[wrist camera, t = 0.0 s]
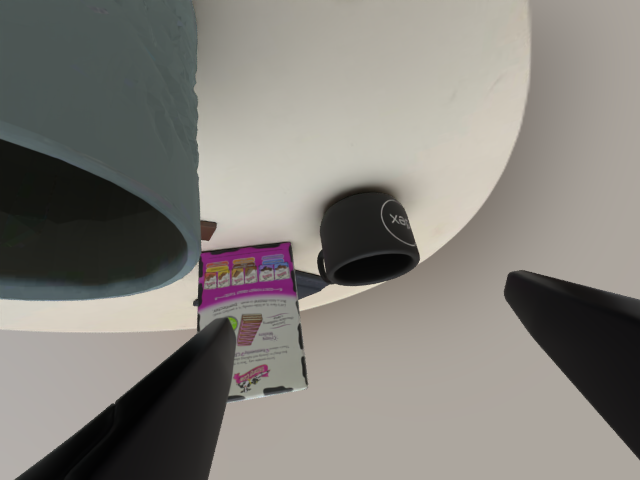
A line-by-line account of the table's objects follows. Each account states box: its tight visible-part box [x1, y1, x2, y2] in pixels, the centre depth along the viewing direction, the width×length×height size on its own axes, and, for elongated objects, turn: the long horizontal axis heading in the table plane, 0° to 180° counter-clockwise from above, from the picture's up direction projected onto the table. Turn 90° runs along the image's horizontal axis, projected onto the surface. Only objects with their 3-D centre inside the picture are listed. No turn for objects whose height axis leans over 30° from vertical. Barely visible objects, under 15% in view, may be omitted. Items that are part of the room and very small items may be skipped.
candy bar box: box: [197, 243, 308, 403], centre depth 34 cm, size 11×5×16 cm, turn 89°
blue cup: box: [0, 0, 201, 301], centre depth 10 cm, size 10×10×12 cm
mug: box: [317, 193, 420, 286], centre depth 31 cm, size 12×9×7 cm
